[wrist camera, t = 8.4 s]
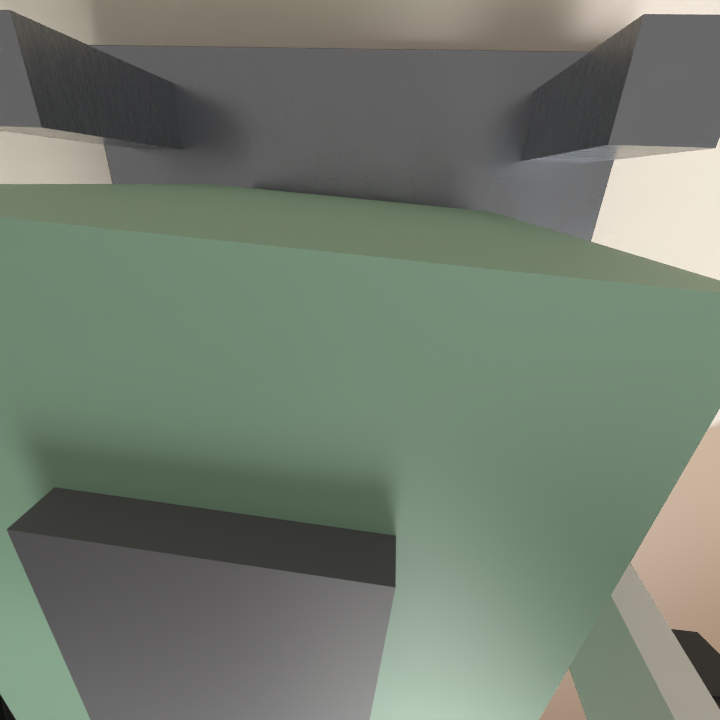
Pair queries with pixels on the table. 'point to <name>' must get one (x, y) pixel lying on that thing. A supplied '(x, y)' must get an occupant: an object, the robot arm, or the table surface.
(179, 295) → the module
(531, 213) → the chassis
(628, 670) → the robot arm
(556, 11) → the table surface
